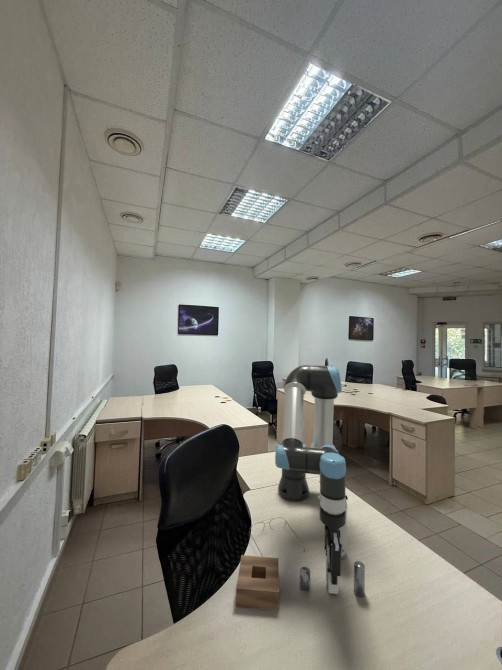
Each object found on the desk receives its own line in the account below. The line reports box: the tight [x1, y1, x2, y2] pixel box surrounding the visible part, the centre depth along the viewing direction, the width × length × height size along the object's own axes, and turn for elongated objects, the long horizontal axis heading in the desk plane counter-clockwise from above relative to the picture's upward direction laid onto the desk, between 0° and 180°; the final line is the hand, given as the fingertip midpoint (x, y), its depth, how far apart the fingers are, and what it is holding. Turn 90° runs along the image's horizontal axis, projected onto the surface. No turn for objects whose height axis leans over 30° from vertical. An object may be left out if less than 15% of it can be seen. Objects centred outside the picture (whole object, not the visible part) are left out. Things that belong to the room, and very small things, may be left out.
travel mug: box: [338, 495, 349, 560], centre depth 98 cm, size 6×7×20 cm
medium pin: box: [353, 560, 366, 598], centre depth 82 cm, size 3×3×8 cm
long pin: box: [326, 544, 334, 595], centre depth 83 cm, size 3×3×13 cm
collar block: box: [235, 554, 280, 611], centre depth 83 cm, size 12×12×5 cm
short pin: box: [299, 566, 311, 593], centre depth 84 cm, size 3×3×5 cm
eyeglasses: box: [248, 516, 306, 557], centre depth 101 cm, size 16×15×5 cm
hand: (331, 586), depth 83 cm, fingers open, 3 cm apart
